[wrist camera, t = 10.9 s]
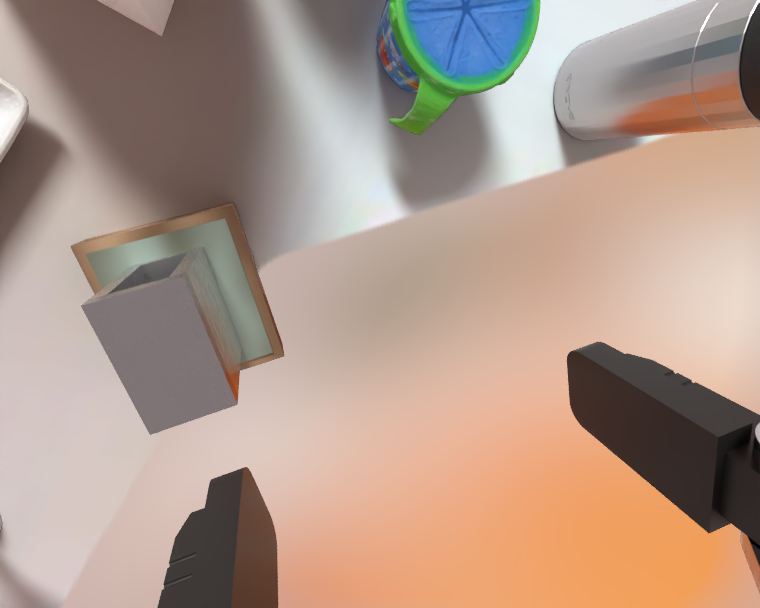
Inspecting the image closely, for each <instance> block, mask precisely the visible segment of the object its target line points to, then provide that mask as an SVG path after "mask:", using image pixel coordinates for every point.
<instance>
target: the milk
mask: <svg viewBox="0 0 760 608" xmlns="http://www.w3.org/2000/svg"><path fill="white" fill-rule="evenodd" d="M97 1H99V2H101V3H102V4H104V5H106V6H108V7H110V8H111V9H113V10H115V11H117V12H119V13H120V14H122V15H124V16H126V17H128V18H129V19H131V20H133V21H135V22H137V23H139V24H140V25H142V26H144V27H146V28H148V29H149V30H151V31H153V32H155V33H157V34H158V35H160V36H162V35H163V32H164V29H165V26H166V23H167V20H168V17H169V15H170V12H171V9H172V6H173V3H174V0H97Z"/></svg>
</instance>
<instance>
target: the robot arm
mask: <svg viewBox="0 0 760 608" xmlns="http://www.w3.org/2000/svg"><path fill="white" fill-rule="evenodd" d="M554 104H555V111H556V114H557V117H558V120H559V122H560V124H561V125H562V127H563V129H564V130H565V131H566V132H567V133H568V134H569V135H571V136H573V137H574V138H577V139H580V140H598V139H611V138H626V137H638V136H651V135H663V134H676V133H688V132H701V131H713V130H725V129H735V128H748V127H760V0H696V1H694V2H691V3H688V4H686V5H683V6H680V7H678V8H675V9H672V10H670V11H667V12H664V13H662V14H659V15H656V16H654V17H651V18H648V19H646V20H643V21H640V22H638V23H635V24H632V25H630V26H627V27H624V28H621V29H618V30H616V31H613V32H610V33H608V34H605V35H603V36H600V37H597V38H595V39H592V40H589V41H587V42H585V43H583V44H581V45H579V46H578V47H577V48H575V49H574V50H573V51H572V52H571V53H570V54H569V56H568V57H567V58H566V59H565V61H564V63H563V65H562V66H561V68H560V71H559V74H558V76H557V79H556V84H555V89H554ZM567 368H568V382H569V397H570V405H571V409H572V412H573V414H574V416H575V418H576V419H577V421H578V422H579V423H580V425H581V426H582V427H583V428H585V429H586V430H587V431H588V432H589V433H591V434H592V435H593V436H594V437H595V438H596V439H598V440H599V441H600V442H601V443H603V445H605V446H606V447H607V448H608V449H610V450H611V451H612V452H613V453H614V454H615V455H617V456H618V457H619V458H620V459H621V460H622V461H624V462H625V463H626V464H627V465H628V466H630V467H631V468H632V469H633V470H634V471H636V472H637V473H638V474H639V475H640V476H641V477H643V478H644V479H645V480H646V481H647V482H649V483H650V484H651V485H652V486H653V487H655V488H656V489H657V490H658V491H659V492H661V493H662V494H663V495H664V496H665V497H666V498H668V499H669V500H670V501H671V502H672V503H674V504H675V505H676V506H677V507H678V508H679V509H681V510H682V511H683V512H684V513H685V514H687V515H688V516H689V517H690V518H691V519H693V520H694V521H695V522H696V523H697V524H699V525H700V526H701V527H702V528H703V529H705V530H706V531H707V532H708V533H711V532H713V531H715V530H717V529H720V528H722V527H724V526H726V525H728V524H730V523H732V524H733V525H734V526H735V527H737V528H738V529H739V530H741V545H742V548H743V551H744V553H745V556H746V559H747V561H748V564H749V567H750V569H751V572H752V575H753V577H754V580H755V582H756V585H757V588H758V590H759V593H760V415H758V414H756V413H754V412H752V411H751V410H749V409H747V408H745V407H743V406H741V405H739V404H737V403H735V402H733V401H731V400H729V399H727V398H725V397H723V396H721V395H719V394H717V393H715V392H713V391H711V390H710V389H708V388H706V387H704V386H702V385H700V384H698V383H692V382H691V380H690V379H688V378H686V377H684V376H682V375H680V374H678V373H677V374H675V373H674V372H673V371H672V370H671V369H669V368H667V367H665V366H663V365H661V364H659V363H657V362H655V361H653V360H650V359H646V358H642V357H638V356H635V355H631V354H623V353H622V352H620V351H618V350H616V349H614V348H612V347H610V346H609V345H607V344H605V343H602V342H596V343H593V344H590V345H588V346H585V347H582V348H579V349H577V350H574V351H571V352H570V353H569V354H568V356H567ZM169 564H170V567H169V568H168V569H167V573H166V577H165V581H164V589H163V590H162V593H161V596H160V600H159V604H158V608H278V580H277V579H278V576H277V574H278V573H277V540H276V534H275V529H274V525H273V522H272V518H271V516H270V514H269V511H268V509H267V507H266V505H265V502H264V500H263V498H262V496H261V494H260V491H259V489H258V487H257V485H256V483H255V480H254V478H253V476H252V474H251V472H250V471H249V469H248V468H247V467H245V468H242V469H239V470H236V471H234V472H231V473H228V474H225V475H222V476H220V477H217V478H214V479H212V480H211V481H210V484H209V489H208V494H207V500H206V505H205V508H204V509H200V510H198V511H195V512H192V513H191V514H190V515H189V517H188V519H187V520H186V522H185V523H184V525H183V526H182V528H181V530H180V531H179V533H178V534H177V536H176V537H175V541H174V545H173V549H172V554H171V557H170V561H169Z"/></svg>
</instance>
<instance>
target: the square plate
mask: <svg viewBox="0 0 760 608" xmlns="http://www.w3.org/2000/svg"><path fill="white" fill-rule="evenodd" d="M28 113H29V106H28V100H27V98H26V96H25V95H24V94H23V93H22V92H21V91H19V90H18V89H17V88H16V87H14V86H13V85H11V84H9V83H8V82H7V81H5V80H4V79H2V78H1V77H0V163H1V161H2V159H3V158H4V156H5V155H6V153H7V152H8V150H9V149H10V147H11V146H12V144H13V142H14V140H15V139H16V137H17V135H18V134H19V132H20V130H21V129H22V127H23V125H24V123H25V121H26V119H27V117H28Z"/></svg>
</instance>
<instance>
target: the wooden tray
mask: <svg viewBox="0 0 760 608" xmlns="http://www.w3.org/2000/svg"><path fill="white" fill-rule="evenodd" d="M201 246H203V247H204V250H205V252H206V255H207V257H208V260H209V262H210V265H211V267H212V270H213V273H214V275H215V278H216V280H217V283H218V285H219V288H220V290H221V293H222V295H223V298H224V301H225V303H226V306H227V308H228V311H229V313H230V316H231V318H232V321H233V324H234V326H235V329H236V331H237V334H238V336H239V339H240V341H241V358H240V370H243V369H246V368H249V367H252V366H255V365H258V364H262V363H265V362H268V361H271V360H274V359H277V358H280V357H283V356H284V351H283V346H282V341H281V339H280V336H279V333H278V330H277V327H276V324H275V321H274V318H273V315H272V313H271V309H270V307H269V304H268V301H267V298H266V295H265V293H264V289H263V286H262V283H261V281H260V278H259V275H258V272H257V269H256V266H255V263H254V260H253V257H252V254H251V252H250V249H249V246H248V243H247V240H246V237H245V234H244V231H243V228H242V225H241V223H240V220H239V217H238V214H237V211H236V208H235V205H234V203H230V204H226V205H222V206H218V207H214V208H210V209H206V210H202V211H198V212H194V213H190V214H186V215H182V216H178V217H174V218H170V219H166V220H162V221H158V222H154V223H150V224H146V225H142V226H138V227H134V228H130V229H126V230H122V231H118V232H114V233H110V234H106V235H102V236H98V237H94V238H90V239H86V240H84V241H81V242H79V243H77V244H74V245H72V246H70V247H71V249H72V251H73V253H74V255H75V257H76V259H77V260H78V262H79V264H80V266H81V268H82V270H83V272H84V274H85V276H86V278H87V280H88V282H89V284H90V286H91V288H92V290H93V292H94V294H96V293H98V292H99V291H100V290H101V289H103V288H104V287H105V286H106V285H107V284H109V283H110V282H111V281H112V280H114V279H115V278H116V277H117V276H119V275H120V274H121V273H122V272H124V271H125V270H126V269H127V268H129V267H130V266H131V265H135V264H138V263H142V262H146V261H150V260H153V259H157V258H161V257H164V256H168V255H172V254H175V253H179V252H183V251H187V250H190V249H194V248H198V247H201Z"/></svg>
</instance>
